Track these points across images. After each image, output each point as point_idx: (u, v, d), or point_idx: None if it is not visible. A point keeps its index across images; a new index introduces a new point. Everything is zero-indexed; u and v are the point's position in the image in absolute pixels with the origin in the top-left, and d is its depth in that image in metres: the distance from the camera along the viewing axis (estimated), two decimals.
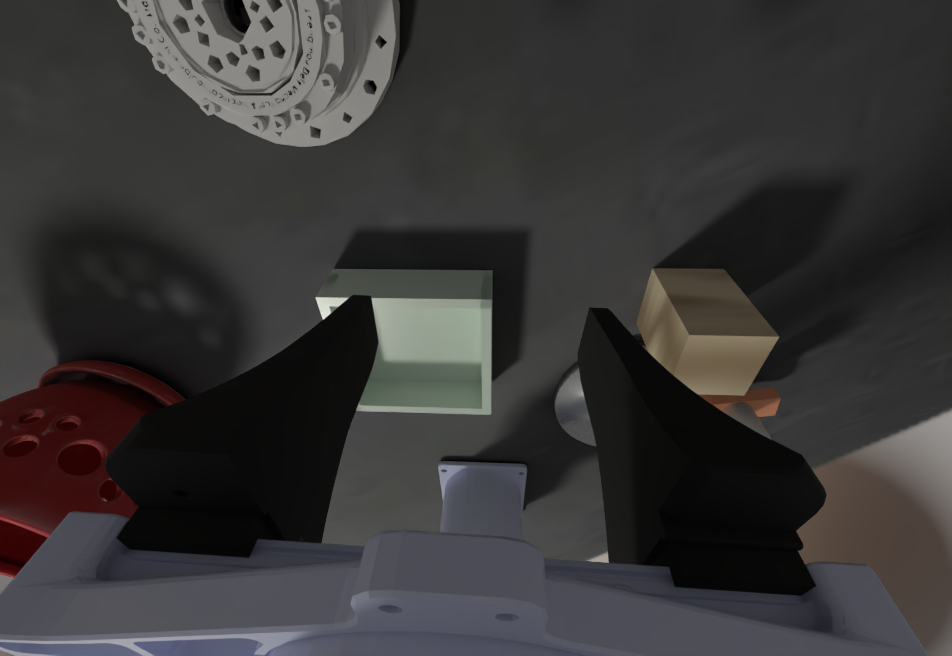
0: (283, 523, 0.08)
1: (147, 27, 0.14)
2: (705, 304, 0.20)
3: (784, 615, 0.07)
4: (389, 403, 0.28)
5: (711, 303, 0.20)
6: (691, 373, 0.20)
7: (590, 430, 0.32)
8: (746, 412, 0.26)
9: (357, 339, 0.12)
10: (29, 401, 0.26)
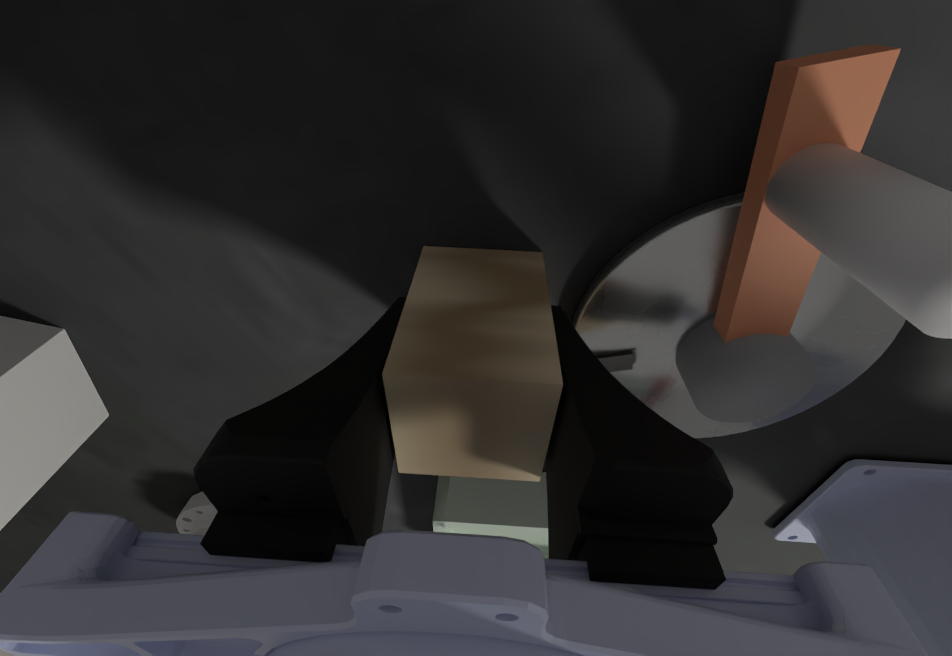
0: (356, 528, 0.08)
1: None
2: None
3: (784, 615, 0.07)
4: None
5: None
6: (487, 460, 0.11)
7: None
8: (787, 200, 0.09)
9: None
10: None
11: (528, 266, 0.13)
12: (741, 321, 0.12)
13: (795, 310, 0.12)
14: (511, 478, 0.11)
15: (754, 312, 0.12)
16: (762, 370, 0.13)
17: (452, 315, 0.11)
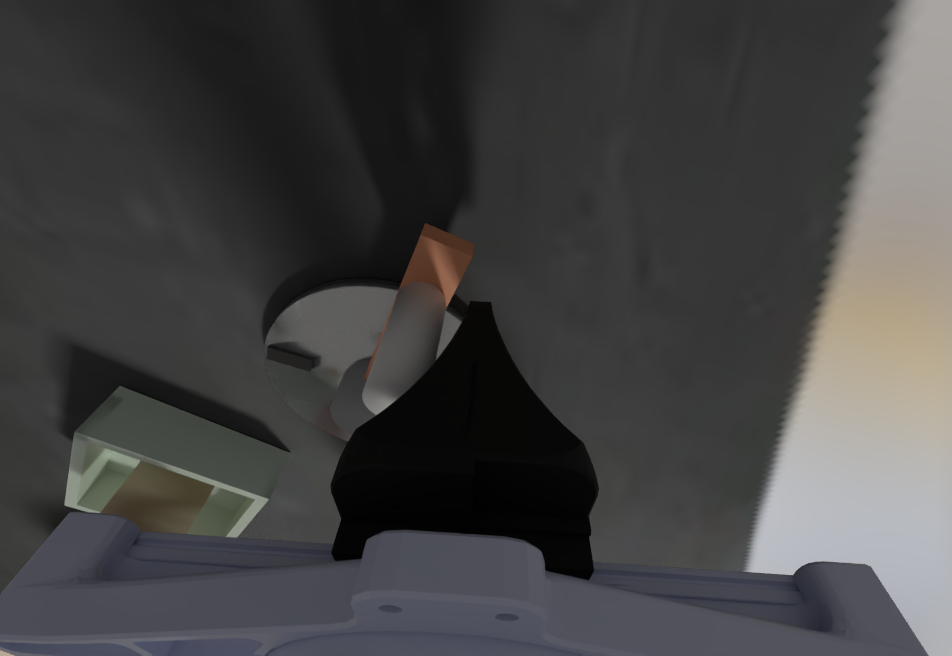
0: None
1: None
2: None
3: (784, 615, 0.07)
4: (227, 533, 0.26)
5: None
6: None
7: None
8: (393, 306, 0.14)
9: None
10: None
11: None
12: None
13: None
14: None
15: None
16: None
17: (141, 505, 0.21)
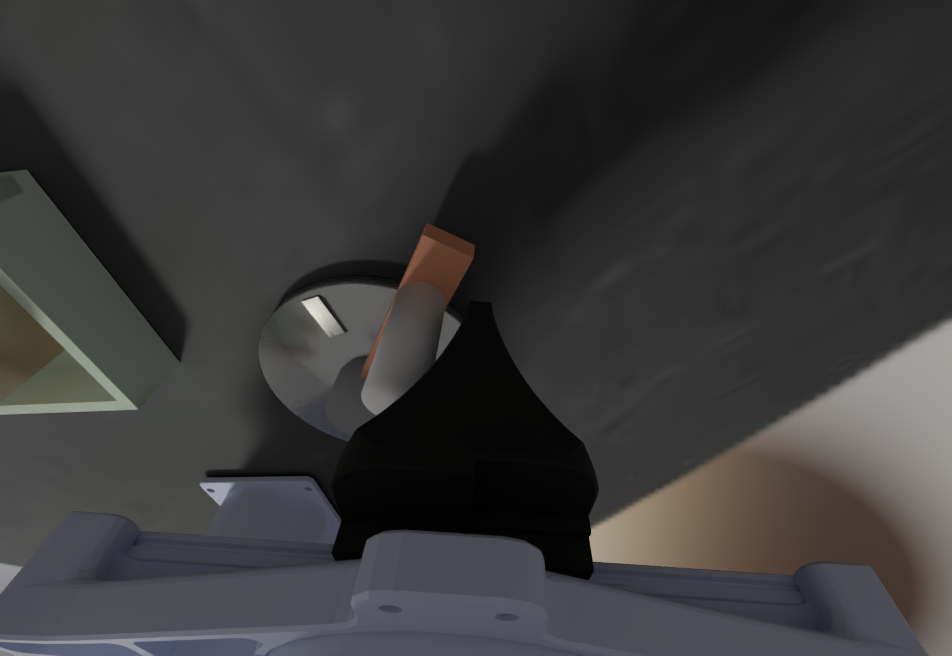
0: None
1: None
2: None
3: (784, 615, 0.07)
4: None
5: None
6: None
7: None
8: (392, 305, 0.14)
9: None
10: None
11: None
12: None
13: None
14: None
15: None
16: None
17: None
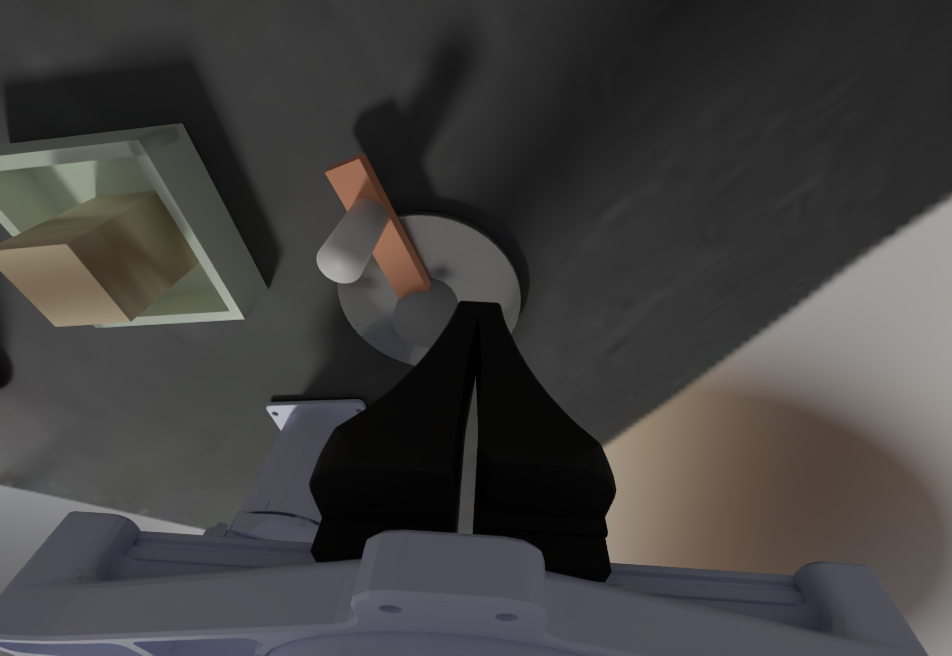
0: None
1: None
2: (65, 223, 0.18)
3: (784, 615, 0.07)
4: None
5: (73, 221, 0.18)
6: (46, 299, 0.18)
7: (401, 344, 0.27)
8: None
9: (474, 346, 0.12)
10: None
11: (190, 258, 0.22)
12: (397, 287, 0.22)
13: (421, 276, 0.22)
14: (43, 313, 0.19)
15: (400, 281, 0.22)
16: (419, 312, 0.22)
17: (128, 247, 0.19)
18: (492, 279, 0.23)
